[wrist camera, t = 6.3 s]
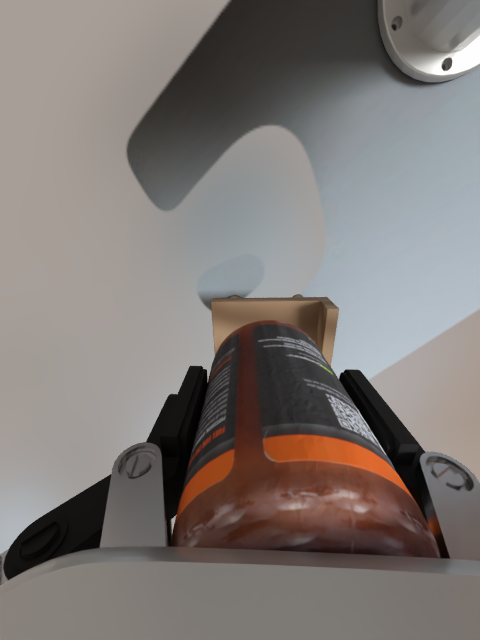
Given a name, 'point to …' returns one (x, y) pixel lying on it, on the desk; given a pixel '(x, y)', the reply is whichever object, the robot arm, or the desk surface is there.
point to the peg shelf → (278, 317)
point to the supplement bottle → (290, 459)
